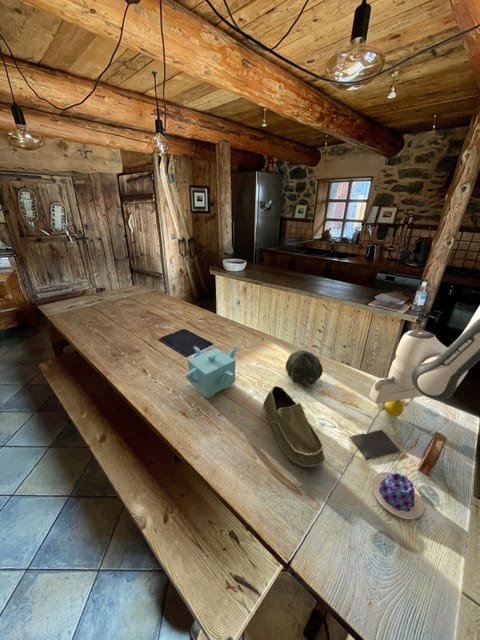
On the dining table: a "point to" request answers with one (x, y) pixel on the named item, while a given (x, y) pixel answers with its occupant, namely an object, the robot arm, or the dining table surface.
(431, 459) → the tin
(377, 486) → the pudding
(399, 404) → the lemon
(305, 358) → the squash
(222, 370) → the teal knobbed box
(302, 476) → the dining table surface
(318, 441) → the loafer
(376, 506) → the dining table surface
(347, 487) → the dining table surface
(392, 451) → the slate coaster
